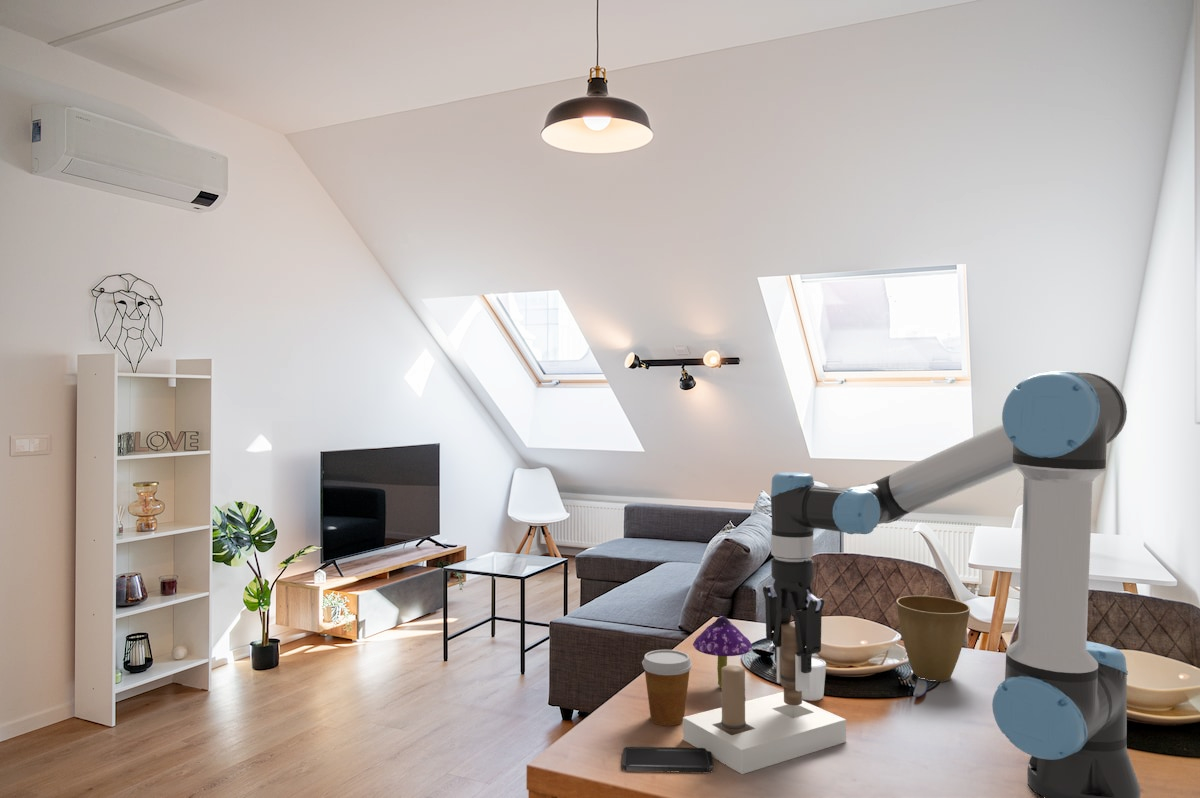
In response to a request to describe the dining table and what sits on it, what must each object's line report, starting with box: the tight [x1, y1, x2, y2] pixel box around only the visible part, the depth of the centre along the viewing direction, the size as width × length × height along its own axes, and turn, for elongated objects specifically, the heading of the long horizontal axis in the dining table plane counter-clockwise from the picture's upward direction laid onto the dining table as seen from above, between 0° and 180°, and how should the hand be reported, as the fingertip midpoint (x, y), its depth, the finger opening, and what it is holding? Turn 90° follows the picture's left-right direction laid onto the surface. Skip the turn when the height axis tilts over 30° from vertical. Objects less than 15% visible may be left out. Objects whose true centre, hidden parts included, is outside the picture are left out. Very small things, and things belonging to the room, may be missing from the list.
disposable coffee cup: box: [641, 649, 693, 727], centre depth 158 cm, size 10×10×12 cm
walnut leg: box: [781, 621, 803, 705], centre depth 151 cm, size 4×4×14 cm
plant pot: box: [896, 595, 971, 683], centre depth 181 cm, size 15×15×16 cm
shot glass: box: [802, 657, 827, 701], centre depth 170 cm, size 7×7×7 cm
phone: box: [621, 745, 714, 774], centre depth 140 cm, size 8×1×15 cm
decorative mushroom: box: [692, 615, 753, 688], centre depth 175 cm, size 12×12×15 cm
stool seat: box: [682, 665, 847, 775], centre depth 148 cm, size 16×24×14 cm, turn 121°
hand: (792, 685), depth 151 cm, fingers closed on walnut leg, 4 cm apart
